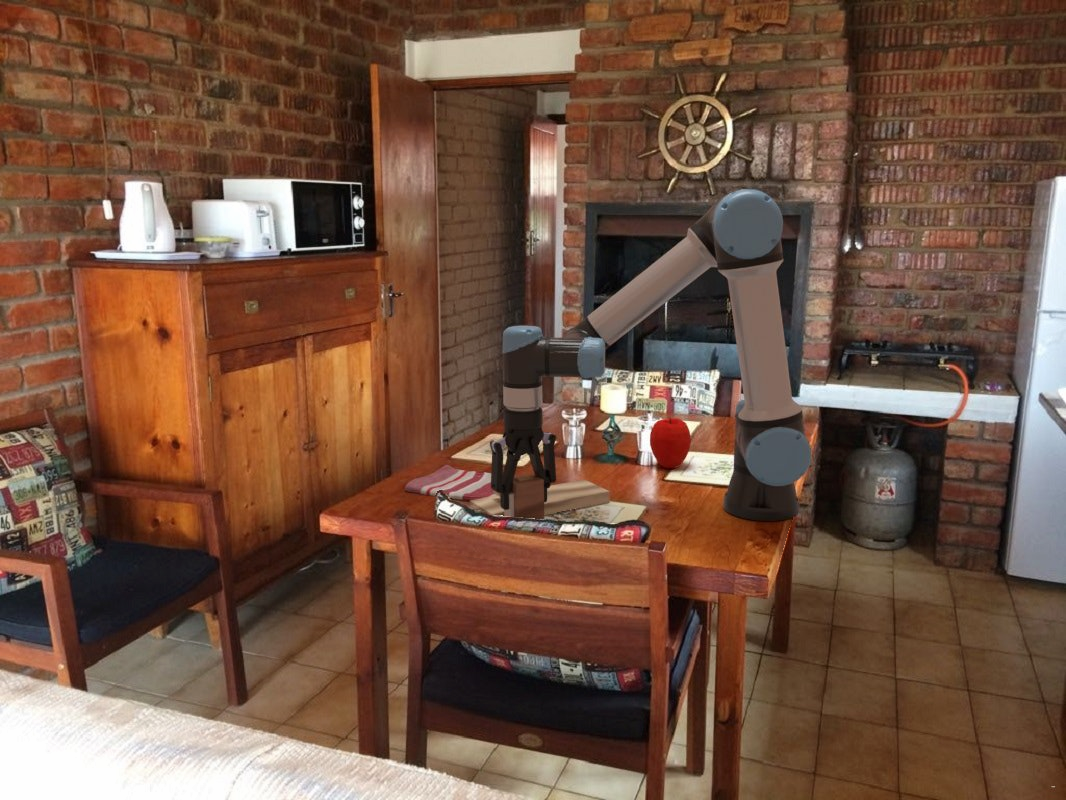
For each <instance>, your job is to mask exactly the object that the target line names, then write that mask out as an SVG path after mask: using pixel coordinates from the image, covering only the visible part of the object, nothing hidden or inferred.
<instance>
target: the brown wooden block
mask: <svg viewBox="0 0 1066 800" xmlns="http://www.w3.org/2000/svg"><path fill="white" fill-rule="evenodd" d="M510 492H511V493H513V494H514V517H523V518H535V519H544V520H545V516H544V480H543V479H541V478H539V477H537V476H535V474H534V473H528V474H522V475H516V476H515V477H514V479H513V483H512V487H511V491H510ZM493 493H494V494H496V495H498V496H499V497H500V493H498V492H496V491H494V490H493Z"/></svg>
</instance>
